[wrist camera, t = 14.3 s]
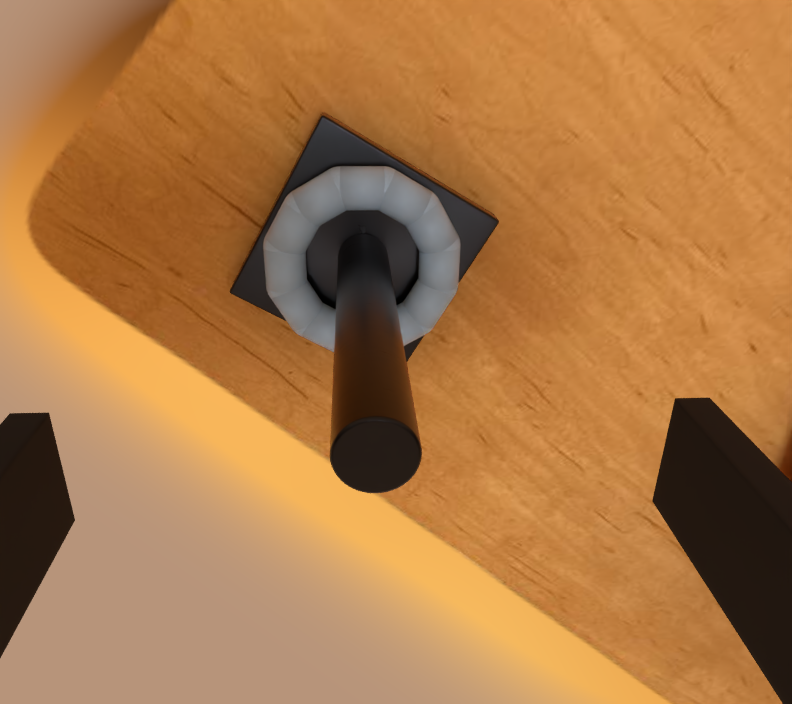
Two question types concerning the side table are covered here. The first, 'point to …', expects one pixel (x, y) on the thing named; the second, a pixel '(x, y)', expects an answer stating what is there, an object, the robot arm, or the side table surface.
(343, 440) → the post
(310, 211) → the ring
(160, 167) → the side table surface
